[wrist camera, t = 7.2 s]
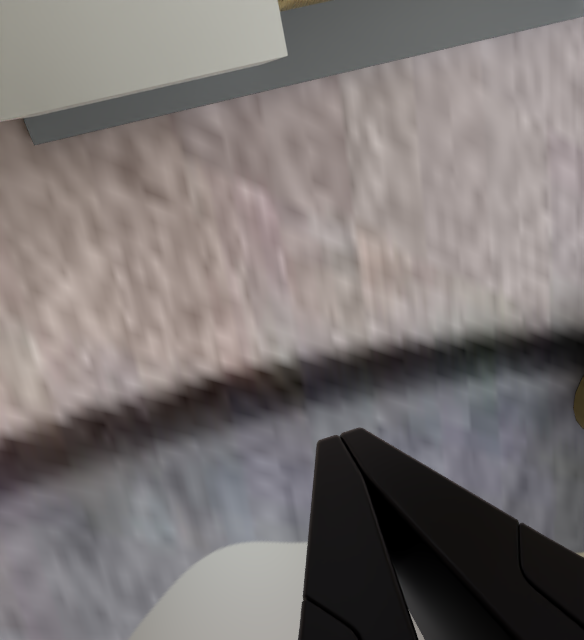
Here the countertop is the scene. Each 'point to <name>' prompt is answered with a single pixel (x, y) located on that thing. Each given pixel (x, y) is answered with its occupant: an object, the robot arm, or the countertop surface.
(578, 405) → the cork
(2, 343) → the countertop surface
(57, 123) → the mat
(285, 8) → the bolt
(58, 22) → the sleeve
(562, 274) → the countertop surface
